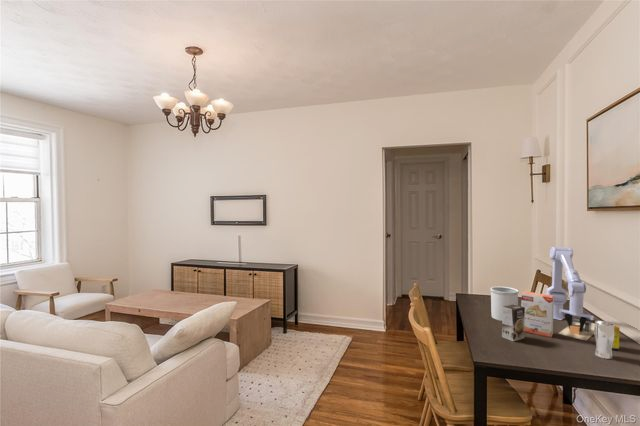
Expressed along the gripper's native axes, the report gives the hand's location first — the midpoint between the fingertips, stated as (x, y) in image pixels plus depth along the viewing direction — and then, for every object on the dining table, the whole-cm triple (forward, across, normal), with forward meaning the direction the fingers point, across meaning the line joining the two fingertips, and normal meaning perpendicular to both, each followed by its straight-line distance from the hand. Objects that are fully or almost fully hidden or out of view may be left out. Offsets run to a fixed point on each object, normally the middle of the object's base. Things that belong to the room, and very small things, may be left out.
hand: (575, 329), depth 178 cm
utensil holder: (+2, -34, -5) cm, 34 cm away
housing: (+1, 0, +8) cm, 8 cm away
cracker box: (+2, -13, -16) cm, 21 cm away
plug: (+1, 0, +3) cm, 3 cm away
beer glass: (+2, +16, -23) cm, 28 cm away
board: (+2, 0, +8) cm, 9 cm away
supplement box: (+2, +15, -9) cm, 18 cm away
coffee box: (+2, -18, -33) cm, 38 cm away
